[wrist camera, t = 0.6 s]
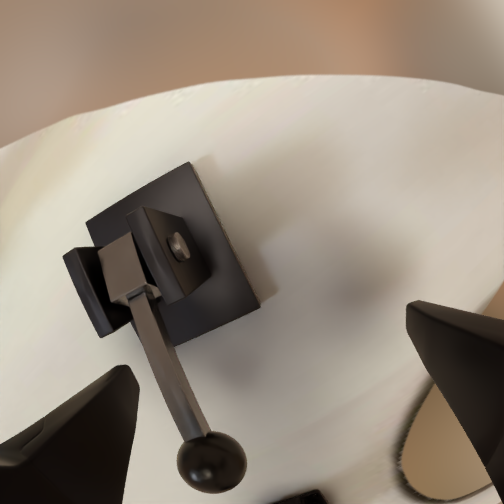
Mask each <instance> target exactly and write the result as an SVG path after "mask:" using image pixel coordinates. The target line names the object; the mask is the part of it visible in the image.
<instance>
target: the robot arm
mask: <svg viewBox="0 0 504 504" xmlns="http://www.w3.org/2000/svg"><path fill="white" fill-rule="evenodd" d="M406 329H407V333H408V335H409V337H410V339H411V340H412V342H413V344H414V346H415V348H416V350H417V352H418V354H419V356H420V358H421V360H422V362H423V364H424V366H425V368H426V369H427V371H428V373H429V374H430V376H431V377H432V379H433V380H434V382H435V383H436V385H437V387H438V388H439V390H440V391H441V393H442V394H443V396H444V398H445V399H446V401H447V402H448V404H449V406H450V407H451V409H452V410H453V412H454V414H455V416H456V417H457V419H458V421H459V422H460V424H461V426H462V427H463V429H464V431H465V432H466V434H467V436H468V438H469V439H470V441H471V443H472V445H473V446H474V448H475V450H476V452H477V454H478V455H479V457H480V459H481V461H482V463H483V464H484V466H485V467H486V468H485V469H486V471H487V472H488V475H489V476H490V478H491V480H492V482H493V484H494V486H495V488H496V490H497V492H498V494H499V496H500V498H501V501H502V503H503V504H504V320H501V319H497V318H492V317H488V316H484V315H480V314H476V313H471V312H467V311H463V310H458V309H454V308H450V307H446V306H441V305H437V304H433V303H429V302H425V301H420V300H417V301H414V302H411V303H408V304H407V306H406ZM139 392H140V387H139V384H138V382H137V380H136V378H135V376H134V374H133V372H132V370H131V368H130V367H129V366H128V365H117V366H115V367H114V368H112V369H111V370H109V371H108V372H107V373H105V374H104V375H102V376H101V377H100V378H98V379H97V380H95V381H94V382H93V383H91V384H90V385H88V386H87V387H86V388H84V389H83V390H81V391H80V392H78V393H77V394H76V395H74V396H73V397H71V398H70V399H69V400H67V401H66V402H64V403H63V404H61V405H60V406H59V407H57V408H56V409H54V410H53V411H51V412H50V413H49V414H47V415H46V416H45V417H43V418H41V419H40V420H38V421H37V422H36V423H34V424H33V425H31V426H30V427H28V428H27V429H25V430H23V431H22V432H20V433H18V434H17V435H15V436H14V437H12V438H10V439H8V440H7V441H5V442H3V443H2V444H0V504H122V501H123V494H124V488H125V482H126V476H127V471H128V465H129V460H130V455H131V449H132V444H133V439H134V434H135V429H136V422H137V411H138V401H139ZM315 494H316V495H315ZM275 504H329V503H328V502H327V501H326V499H325V498H324V496H323V495H322V493H321V492H320V491H319V490H314V491H311V492H309V493H306V494H303V495H300V496H297V497H294V498H291V499H288V500H285V501H282V502H278V503H275Z"/></svg>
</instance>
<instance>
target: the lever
mask: <svg viewBox="0 0 504 504" xmlns="http://www.w3.org/2000/svg"><path fill="white" fill-rule="evenodd" d="M97 253H98V257H99V261H100V265H101V269H102V273H103V277H104V281H105V284H106V288H107V292H108V295H109V299H110V301H111V302H112V303H116V304H120V305H124V306H129V307H130V310H131V313H132V316H133V319H134V322H135V325H136V328H137V331H138V334H139V336H140V339H141V342H142V345H143V347H144V350H145V353H146V355H147V358H148V361H149V363H150V366H151V368H152V371H153V373H154V376H155V378H156V380H157V383H158V385H159V388H160V390H161V392H162V395H163V397H164V399H165V401H166V404H167V406H168V408H169V410H170V413H171V415H172V417H173V419H174V421H175V423H176V425H177V427H178V430H179V432H180V434H181V436H182V438H183V440H184V443H183V444H182V445H181V447H180V449H179V451H178V454H177V467H178V471H179V473H180V475H181V477H182V478H183V480H184V481H185V482H186V483H187V484H188V485H189V486H191V487H192V488H194V489H196V490H198V491H201V492H204V493H209V494H217V493H223V492H226V491H229V490H231V489H233V488H234V487H235V486H237V485H238V484H239V483H240V482H241V480H242V479H243V477H244V475H245V473H246V469H247V458H246V454H245V452H244V450H243V448H242V447H241V445H240V444H239V443H238V442H237V441H236V440H235V439H233V438H232V437H230V436H229V435H227V434H224V433H221V432H216V431H211V429H210V427H209V425H208V423H207V421H206V419H205V417H204V415H203V413H202V411H201V408H200V406H199V404H198V402H197V400H196V398H195V395H194V393H193V391H192V389H191V387H190V384H189V382H188V380H187V377H186V375H185V373H184V371H183V368H182V366H181V363H180V361H179V359H178V356H177V354H176V351H175V349H174V346H173V344H172V341H171V339H170V336H169V334H168V331H167V329H166V326H165V323H164V321H163V318H162V315H161V313H160V310H159V307H158V305H157V302H156V299H155V298H157V297H159V296H161V293H160V291H159V289H158V287H157V285H156V283H155V281H154V279H153V277H152V275H151V273H150V270H149V268H148V266H147V264H146V262H145V260H144V258H143V256H142V253H141V251H140V249H139V247H138V245H137V243H136V240H135V238H134V236H133V234H132V232H129V233H127V234H126V235H124V236H122V237H120V238H119V239H117V240H115V241H114V242H112V243H110V244H109V245H107V246H105V247H104V248H102V249H100V250H99V251H98V252H97Z"/></svg>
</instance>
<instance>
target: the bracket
mask: <svg viewBox="0 0 504 504" xmlns="http://www.w3.org/2000/svg"><path fill="white" fill-rule="evenodd" d="M86 226H87V228H88V231H89V233H90V236H91V238H92V241H93V243H94V246H95V247H76V248H74V249H72V250H71V251H69V252H68V253H66V254H65V255H63V259H64V262H65V264H66V267H67V269H68V272H69V274H70V277H71V279H72V281H73V284H74V286H75V288H76V290H77V293H78V295H79V297H80V299H81V301H82V304H83V306H84V308H85V310H86V312H87V314H88V316H89V318H90V320H91V322H92V324H93V326H94V328H95V330H96V332H97V334H98V336H99V337H100V338H103V337H105V336H107V335H109V334H111V333H113V332H115V331H117V330H118V329H120V328H121V327H123V326H124V325H126V324H127V323H129V322H130V323H131V324H132V326H133V328H134V330H135V332H136V334H137V336H138V337H139V339H140V336H139V334H138V331H137V328H136V325H135V322H134V319H133V316H132V313H131V310H130V307H129V306H124V305H120V304H116V303H112V302H111V301H110V299H109V295H108V292H107V288H106V284H105V281H104V277H103V273H102V269H101V265H100V261H99V257H98V253H97V252H98V251H99V250H100V249H102V248H104V247H105V246H107V245H109V244H110V243H112V242H114V241H115V240H117V239H119V238H120V237H122V236H124V235H126V234H127V233H129V232H132V234H133V236H134V238H135V240H136V243H137V245H138V247H139V249H140V251H141V253H142V256H143V258H144V260H145V262H146V264H147V266H148V268H149V270H150V273H151V275H152V277H153V279H154V281H155V283H156V285H157V287H158V289H159V291H160V293H161V296H159V297H157V298H155V299H156V302H157V305H158V307H159V310H160V313H161V315H162V318H163V321H164V323H165V326H166V329H167V331H168V334H169V336H170V339H171V341H172V344H173V346H174V347H175V346H177V345H180V344H182V343H184V342H187V341H189V340H191V339H193V338H196V337H198V336H200V335H202V334H205V333H207V332H209V331H211V330H214V329H216V328H218V327H220V326H222V325H225V324H227V323H229V322H231V321H233V320H235V319H237V318H240V317H242V316H244V315H246V314H248V313H250V312H252V311H254V310H257V309H259V308H260V307H261V303H260V301H259V299H258V297H257V295H256V293H255V291H254V289H253V287H252V285H251V283H250V281H249V279H248V277H247V275H246V273H245V271H244V269H243V267H242V265H241V263H240V261H239V259H238V257H237V255H236V253H235V251H234V249H233V247H232V245H231V243H230V241H229V239H228V237H227V235H226V233H225V231H224V229H223V227H222V225H221V223H220V221H219V219H218V217H217V215H216V213H215V211H214V208H213V206H212V204H211V202H210V200H209V198H208V196H207V194H206V192H205V190H204V188H203V186H202V184H201V182H200V180H199V178H198V176H197V174H196V171H195V169H194V167H193V165H192V164H191V163H190V162H187V163H185V164H183V165H181V166H179V167H177V168H175V169H174V170H172V171H170V172H168V173H166V174H164V175H163V176H161V177H159V178H157V179H156V180H154V181H152V182H150V183H148V184H147V185H145V186H143V187H142V188H140V189H138V190H136V191H135V192H133V193H131V194H130V195H128V196H126V197H125V198H123V199H121V200H120V201H118V202H117V203H115V204H113V205H112V206H110V207H109V208H107V209H105V210H104V211H102V212H101V213H99V214H98V215H96V216H94V217H93V218H91V219H90V220H88V221H87V222H86ZM140 341H141V339H140ZM141 343H142V342H141Z"/></svg>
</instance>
